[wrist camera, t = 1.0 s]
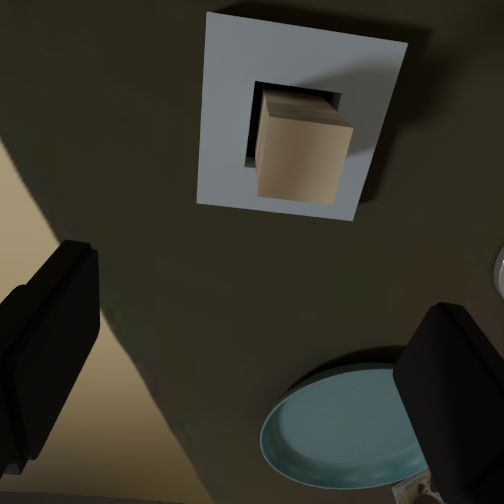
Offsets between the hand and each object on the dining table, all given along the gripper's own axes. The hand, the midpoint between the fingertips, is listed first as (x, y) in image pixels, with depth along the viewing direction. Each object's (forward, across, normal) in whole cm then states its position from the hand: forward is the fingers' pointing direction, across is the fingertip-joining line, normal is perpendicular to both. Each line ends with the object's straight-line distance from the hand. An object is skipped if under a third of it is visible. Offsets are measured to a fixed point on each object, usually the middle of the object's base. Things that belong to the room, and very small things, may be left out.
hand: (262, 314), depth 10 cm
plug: (+20, -2, -1) cm, 20 cm away
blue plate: (+20, -19, +32) cm, 42 cm away
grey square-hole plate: (+20, -2, -1) cm, 20 cm away
